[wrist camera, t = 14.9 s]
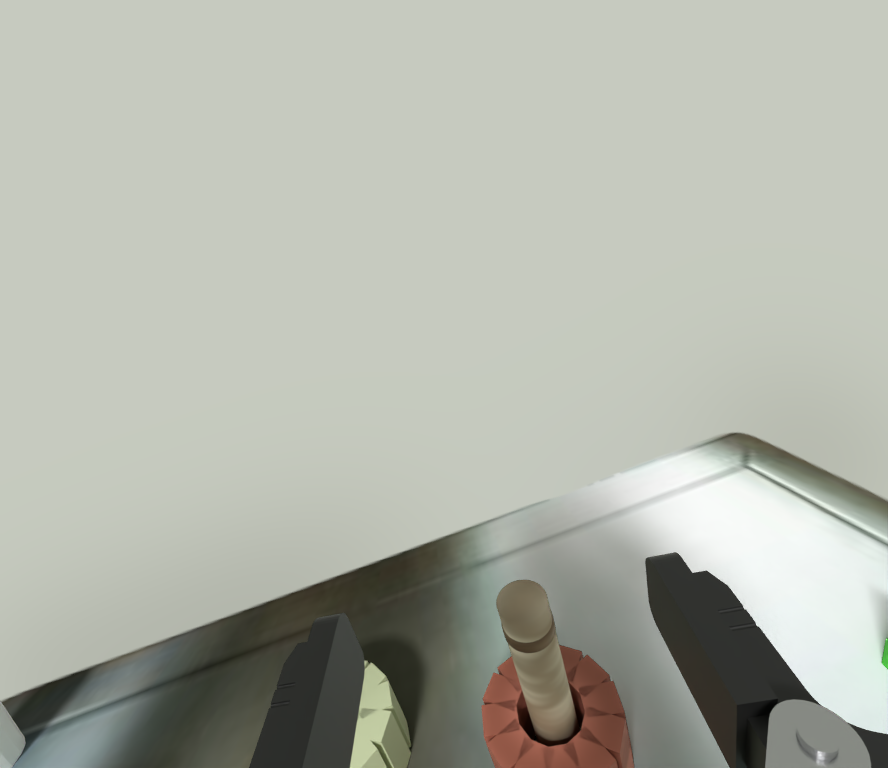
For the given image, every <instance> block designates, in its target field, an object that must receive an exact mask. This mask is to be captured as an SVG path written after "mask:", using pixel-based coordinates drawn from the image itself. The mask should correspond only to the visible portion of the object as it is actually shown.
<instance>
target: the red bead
mask: <svg viewBox="0 0 888 768" xmlns="http://www.w3.org/2000/svg"><path fill="white" fill-rule="evenodd" d="M559 647H560V651H561V655H562V659H563V663H564V667H565V671H566V675H567V679H568V683H569V688H570V692H571V696H572V700H573V704H574V708H575V712H576V716H577V720H578V724H579V727H580V728H581V731H580V732H579V733H578V734H577V735H576V736H574V737H573V738H572V739H571V740H570V741H569V742H568V743H567V744H562V745H556V746H551V747H548V746H545V745H543V744H541V743H538V742H536V741H534V737H535V731H534V728H533V724H532V721H531V718H530V714H529V711H528V708H527V705H526V701H525V698H524V695H523V691H522V688H521V685H520V681H519V678H518V675H517V672H516V668H515V665H514V662H513V658H512V656H511V657H510V658H509V659H507V660H506V661H505V662H504V663H503V664H501V665H500V666H499V667H498V671H499V674H500V675H499V674H497V673H493V676H492V678H491V680H490V683H489V685H488V687H487V690H486V692H485V695H484V697H483V701H484V704H485V705H482V716H483V729H484V738H485V741H486V743H487V747H488V749H489V752H490V755H491V757H492V760H493V763H494V766H495V768H634V763H633V754H632V749H631V744H630V738H629V733H628V728H627V722H626V717H625V712H624V709H623V706H622V704H621V701H620V698H619V695H618V693H617V690H616V687H615V684H614V682H613V681H610V676H609V674H608V673H607V672H605V671H604V670H603V669H602V668H601V667H600V666H599V665H598V664H597V663H596V662H595V661H594V660H593V659H591V658H590V657H589V656H588V655H586V656H585V657H584V658H583V656H582V651H579V650H575V649H572V648H568V647H565V646H562V645H559Z"/></svg>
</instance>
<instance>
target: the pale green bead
mask: <svg viewBox="0 0 888 768" xmlns="http://www.w3.org/2000/svg"><path fill="white" fill-rule="evenodd" d="M364 664H365V673H364V681H363V688H362V694H361V700H360V707H359V713H358V719H357V725H356V732H355V738H354V744H353V751H352V757H351V763H350V768H407V766H408V762H409V759H410V755H411V752H410V750H409V747H411V742H410V736H409V730H408V725H407V720H406V718H405V716H404V714H403V712H402V710H401V707H400V705H399V703H398V701H397V699H396V696H395V694H394V692H393V690H392V688H391V685H390V683H389V681H388V679H387V677H386V676H385V675H384V674H383V673H382V672H381V671H380V670H379V669H378V668H377V667H376V666H375V665H374V664H373V663H371V664H370V665H369V663H368V661H364Z"/></svg>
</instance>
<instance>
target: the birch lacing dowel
mask: <svg viewBox="0 0 888 768" xmlns="http://www.w3.org/2000/svg"><path fill="white" fill-rule="evenodd" d="M496 604H497V609H498V612H499V616H500V619H501V623H502V628H503V632H504V635H505V638H506V640H507V642H508V645H509V649H510V652H511V655H512V658H513V662H514V665H515V668H516V672H517V675H518V678H519V681H520V685H521V688H522V691H523V695H524V698H525V701H526V705H527V708H528V711H529V714H530V718H531V721H532V724H533V728H534V731H535V734H536V737H537V741H538V743H541V744H543V745H545V746H548V747H551V746H556V745H562V744H567V743H568V742H569V741H570V740H571V739H572V738H573V737H574V736H576V735H577V734H578V733H579V732H580V728H579V724H578V720H577V716H576V712H575V708H574V704H573V700H572V696H571V692H570V688H569V683H568V679H567V675H566V671H565V667H564V663H563V659H562V655H561V651H560V647H559V643H558V639H557V635H556V631H555V623H554V619H553V615H552V612H551V610H550V606H549V602H548V598H547V594H546V592H545V590H544V589H543V588H542V587H541V586H540V585H539V584H538V583H536V582H533V581H530V580H517V581H514V582H511V583H509V584H508V585H506V586H505V587H504V588H503V589H502V590H501V591H500V593H499V594H498V597H497V602H496Z"/></svg>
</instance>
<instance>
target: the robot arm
mask: <svg viewBox="0 0 888 768" xmlns="http://www.w3.org/2000/svg"><path fill="white" fill-rule="evenodd" d="M646 574H647V586H648V597H649V604H650V608H651V612H652V615H653V618H654V620H655V623H656V625H657V627H658V629H659V631H660V633H661V635H662V637H663V639H664V641H665V643H666V645H667V647H668V648H669V650H670V652H671V654H672V656H673V658H674V660H675V662H676V664H677V666H678V668H679V670H680V672H681V674H682V676H683V678H684V680H685V682H686V683H687V685H688V687H689V689H690V691H691V693H692V695H693V697H694V699H695V701H696V703H697V705H698V707H699V709H700V711H701V713H702V715H703V717H704V718H705V720H706V722H707V724H708V726H709V728H710V730H711V732H712V734H713V736H714V738H715V740H716V742H717V744H718V746H719V748H720V750H721V751H722V753H723V755H724V757H725V759H726V761H727V763H728V765H729V767H730V768H888V734H883V733H878V732H873V731H869V730H865V729H862V728H859V727H856V726H854V725H852V724H850V723H847V722H846V721H845V720H843V719H842V718H841V717H839V716H838V715H837V714H835V713H834V712H832V711H830V710H829V709H827V708H825V707H823V706H821V705H820V704H819V703H818V702H817V701H816V700H815V699H814V698H813V697H812V696H811V695H810V694H809V692H808V691H807V690H806V689H805V687H804V686H803V685H802V683H801V682H800V681H799V679H798V678H797V677H796V675H795V674H794V673H793V672H792V670H791V669H790V668H789V666H788V665H787V664H786V662H785V661H784V660H783V658H782V657H781V656H780V654H779V653H778V652H777V650H776V649H775V648H774V646H773V645H772V644H771V642H770V641H769V640H768V638H767V637H766V636H765V634H764V633H763V632H762V630H761V629H760V628H759V627H757V626H756V623H755V621H754V620H753V618H752V617H751V616H750V614H749V613H748V612H747V611H746V610H744V608H743V605H742V604H741V603H740V601H739V600H738V599H737V597H736V596H735V595H734V593H733V592H732V591H731V589H730V588H729V587H728V586H727V585H726V584H725V583H723V582H722V581H720V580H719V579H718V578H716V577H715V576H713V575H712V574H711V573H709V572H708V571H702V572H696V573H692V572H691V571H690V569H689V568H688V566H687V565H686V563H685V562H684V560H683V559H682V557H681V556H680V555H679V554H678V553H670V554H665V555H659V556H654V557H648V558H646ZM364 673H365V664H364V656H363V652H362V649H361V647H360V644H359V642H358V640H357V637H356V635H355V633H354V631H353V628H352V626H351V624H350V622H349V619H348V617H347V615H346V614H345V613H341V614H336V615H330V616H325V617H320V618H317V619H315V621H314V623H313V625H312V628H311V632H310V635H309V638H308V642H304V643H299V644H297V646H296V647H295V649H294V650H293V652H292V653H291V655H290V656H289V658H288V659H287V660H286V662H285V663H284V666H283V669H282V672H281V675H280V678H279V681H278V684H277V690H275V693H274V696H273V699H272V702H271V708H269V711H268V713H267V716H266V719H265V722H264V725H263V728H262V731H261V734H260V737H259V740H258V743H257V746H256V749H255V752H254V755H253V758H252V761H251V764H250V767H249V768H350V763H351V757H352V751H353V744H354V738H355V732H356V725H357V719H358V713H359V707H360V700H361V694H362V688H363V681H364Z"/></svg>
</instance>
